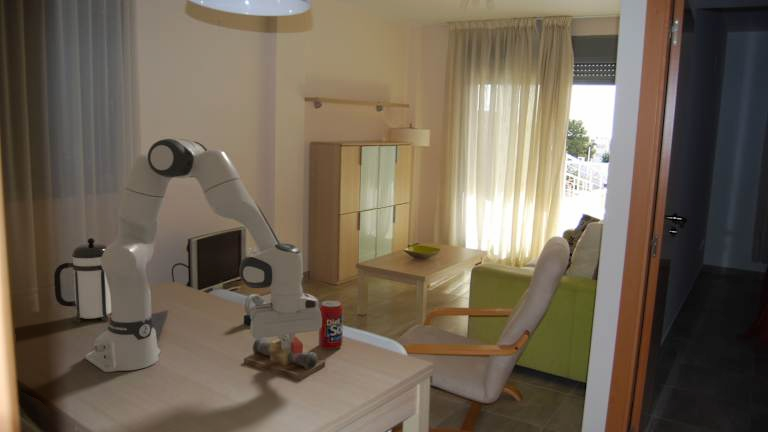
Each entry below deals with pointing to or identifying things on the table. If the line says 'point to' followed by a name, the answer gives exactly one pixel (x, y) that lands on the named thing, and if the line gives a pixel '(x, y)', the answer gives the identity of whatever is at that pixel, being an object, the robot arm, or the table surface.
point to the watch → (256, 299)
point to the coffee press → (87, 283)
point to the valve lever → (295, 345)
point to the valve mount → (283, 360)
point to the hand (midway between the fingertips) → (286, 348)
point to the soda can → (331, 325)
